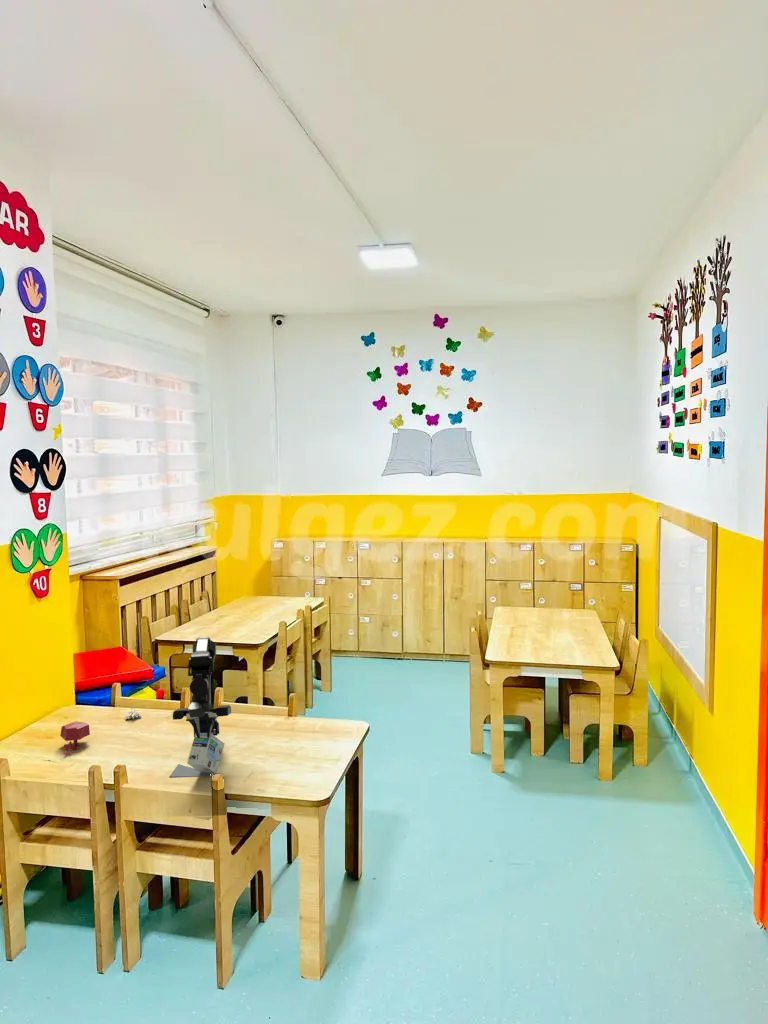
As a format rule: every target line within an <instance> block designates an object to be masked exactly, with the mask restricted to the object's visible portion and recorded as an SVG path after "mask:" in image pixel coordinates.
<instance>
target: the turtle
mask: <svg viewBox="0 0 768 1024" xmlns="http://www.w3.org/2000/svg"><path fill="white" fill-rule="evenodd" d="M90 731H91V730H90V724H89V723H87V722H83V721H78V720H74V721H72V722H70V723H67V724H65V725H63V726H61V728H60V737H61V738H62V739H63V740H64V741H65V742H68V744H66V743H65V744H64V745H63V748H64V750H65V751H64V752H63V755H65V754H68V755H70V754H69V753H70V752H71V751H70V749H71V750H72V751H73V750H74V751H75V750H76V749H78V746H79V742H78V741H80V740H82V739H84V738H85V737H88V736H90V735H91V733H90ZM72 741H73V743H72ZM74 745H77V746H74Z"/></svg>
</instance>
